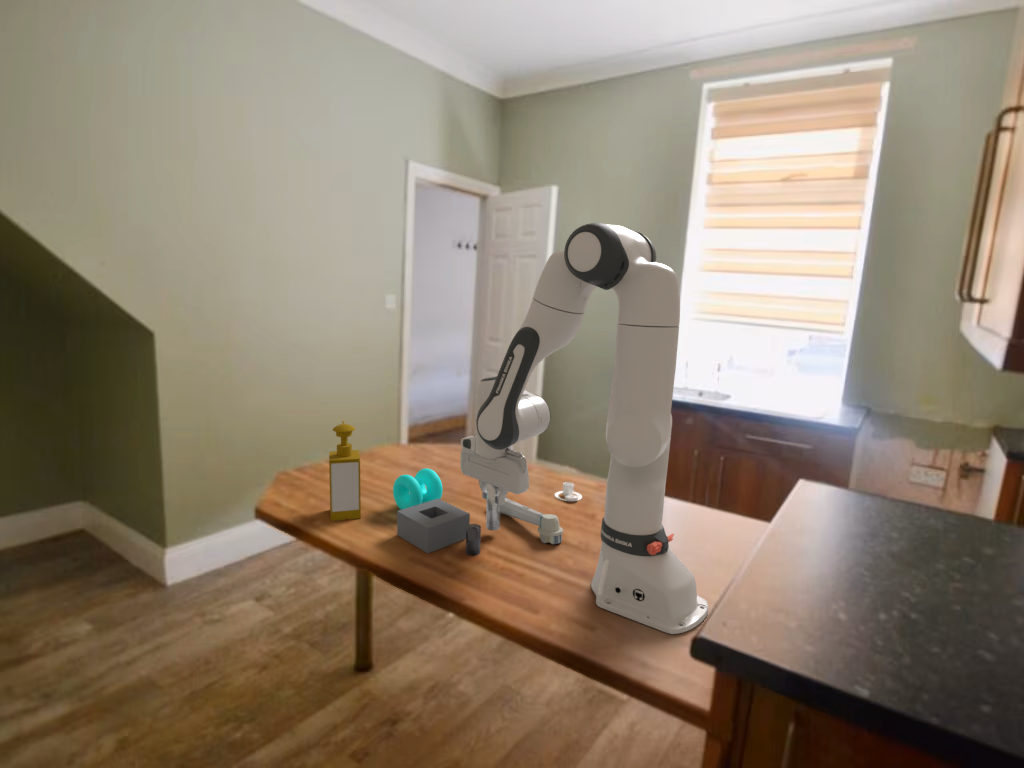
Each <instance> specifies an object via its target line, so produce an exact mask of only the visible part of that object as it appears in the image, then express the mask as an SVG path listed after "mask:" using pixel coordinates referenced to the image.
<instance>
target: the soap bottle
mask: <svg viewBox="0 0 1024 768" xmlns="http://www.w3.org/2000/svg"><path fill="white" fill-rule="evenodd" d="M332 431H333V432H334V433H335V436H336V437H337V438H340V443H338V444H337V445H336V451H334V450H332V451H329V454H328V457H329V458H328V459H329V460H328V465H329V471H328V473H329V506H330V507H329V508H330V509H329V512H330V515H329V516H330V522H335V521H334V520H337V521H346V520H345V519H349V520H357V519H358V518H360V519H361V518H362V516H361V515H362V513H361V456H360V451H359V449H355V450H354V449H353V448H352V447H353V446H352V444H351V443H349V442H348V437H352V436H353V432H354V431H356V427H354V426H353V425H351V424H348V423H345V421H344V420H342V423H341V424H338V425H336V426H334V427H333V429H332Z"/></svg>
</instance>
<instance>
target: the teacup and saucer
mask: <svg viewBox="0 0 1024 768" xmlns="http://www.w3.org/2000/svg"><path fill="white" fill-rule="evenodd" d="M574 488H575V483H574V482H572V481H571V482H570V481H565V482H563V483H562V490H559V491H556V492H555V493H554V494H553V495H554V498H556V499H557V500H560V501H565V502H576V501H580V500H582V499H583V495H582V494H581V493H579V492H576V491H575V490H574ZM561 494H563V497H564V498H562V497H560V496H559V495H561Z"/></svg>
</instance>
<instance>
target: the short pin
mask: <svg viewBox="0 0 1024 768" xmlns="http://www.w3.org/2000/svg"><path fill="white" fill-rule="evenodd" d="M481 527H482V526H481V525H480V524H477V523H469V525H467V526H466V539H465V554H466V555H468V556H473V557H474V556H478V555H480V553H481V537H482V535H481V531H482V529H481Z"/></svg>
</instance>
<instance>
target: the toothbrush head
mask: <svg viewBox="0 0 1024 768" xmlns="http://www.w3.org/2000/svg"><path fill="white" fill-rule="evenodd" d="M500 515H506V516H509V517H511V518H515V519H517V520H520V521H523V522H526V523H529V524H531V525H535V526H537V527H538V528H537V533H538V534H539V539H540V541H541V543H543V544H547V543H550V544H551V545H557V544H560V543H561V542H563V536H562V535H563V533H564V529H563V528H562V526H560V521H559V517H558V516H557V515H556V514H552V513H549V514H547V513H546V514H545V513H542V512H539V511H537V510H535V509H533V508H531V507H528V506H526V505H523V504H521V503H519V502H516V501H514V500H511V499H510V498H508V497H507V495H506V496H505V503H504V504H503V505H500Z"/></svg>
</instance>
